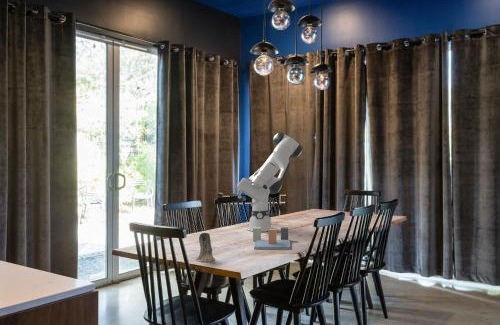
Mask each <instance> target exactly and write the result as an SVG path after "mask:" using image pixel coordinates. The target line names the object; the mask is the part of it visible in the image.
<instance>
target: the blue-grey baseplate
mask: <svg viewBox="0 0 500 325" xmlns="http://www.w3.org/2000/svg"><path fill="white" fill-rule="evenodd" d="M290 241H291V239H288V240H281V239H277V243H276V244H269V239H261V240H256V241H255V244H254V245H253V249H254V250H291V242H290Z"/></svg>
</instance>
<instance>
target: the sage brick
mask: <svg viewBox="0 0 500 325" xmlns="http://www.w3.org/2000/svg"><path fill="white" fill-rule="evenodd" d="M256 240H262V232H261V227H253V231H252V241H253V242H256Z"/></svg>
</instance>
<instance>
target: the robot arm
mask: <svg viewBox="0 0 500 325" xmlns="http://www.w3.org/2000/svg"><path fill="white" fill-rule="evenodd" d="M272 144H274V146H275V147H274V149H273V151H272V153H271V154H270V155H269V156H268V158H267V159H266V161H265V162H264V163H263V164H262V166H260V167H259V168H258V169H257V170H256V171H255V172H254V174H252V175H251V176H249V178H248V177H247V176H246V177H245V176H244V177H242V178H241V180H240V181H239V183H238V182H237V184H236V190H238V192H239V193H238V196H237V198H238V199H241V198H242V197H243V196H242V194H244V195H246V196H248V197H250V198H251V203H250V207H252V210H251V217H250V218H249V227H247V228H246V231H250V232H253V227H261V233H262V232H263V233H264V232H265V233H266V232H268V230H269V229H275V228H274V227H273V226H272V220H271V219H272V218H271V217H270V216H269V215H270V210H269V197H270V196H269V195H270V194H271V195H274V194H277V193H279V192H280V190H281V189H282V187H283V182H284V180H285V178H286V175H287V173H288V170H289V168H290V165H291V163H290V160H289V159H297V158H298V157H300V156H301V155H302V153H303V149H304V148H303V146H302V145H301V144H299V143H298V142H297V141H296V140H295V139H293V138H292V137H291V136H289V135H287V134H285V132H282V131H279V132H277V133H276V134H274V136H273V140H272ZM279 170H280V171H279ZM278 171H279V174H278V176H277V177H276V176H275V175H276V174H277V173H278Z"/></svg>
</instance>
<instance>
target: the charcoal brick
mask: <svg viewBox="0 0 500 325" xmlns="http://www.w3.org/2000/svg"><path fill="white" fill-rule="evenodd" d="M280 240H289V227H288V226H281V227H280Z"/></svg>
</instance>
